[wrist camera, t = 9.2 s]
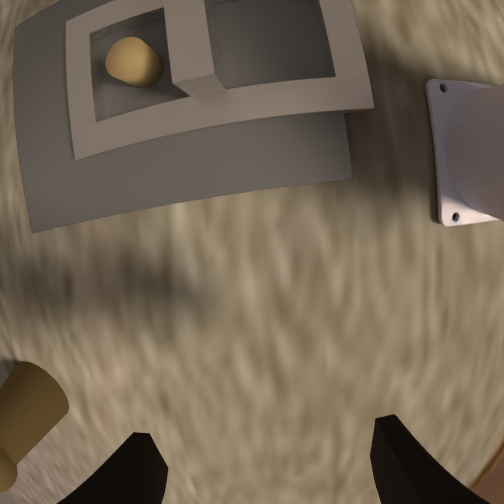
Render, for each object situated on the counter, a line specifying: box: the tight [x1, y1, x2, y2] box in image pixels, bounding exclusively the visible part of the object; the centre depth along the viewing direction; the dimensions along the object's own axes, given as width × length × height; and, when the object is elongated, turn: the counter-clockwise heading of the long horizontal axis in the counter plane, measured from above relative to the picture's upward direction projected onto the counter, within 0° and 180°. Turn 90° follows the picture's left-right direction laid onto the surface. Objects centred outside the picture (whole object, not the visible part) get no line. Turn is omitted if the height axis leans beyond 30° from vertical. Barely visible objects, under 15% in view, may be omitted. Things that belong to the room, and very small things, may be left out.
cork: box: [0, 362, 69, 492], centre depth 16 cm, size 6×6×11 cm
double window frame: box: [66, 0, 374, 160], centre depth 11 cm, size 14×8×4 cm, turn 98°
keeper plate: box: [13, 0, 353, 233], centre depth 13 cm, size 18×14×3 cm
